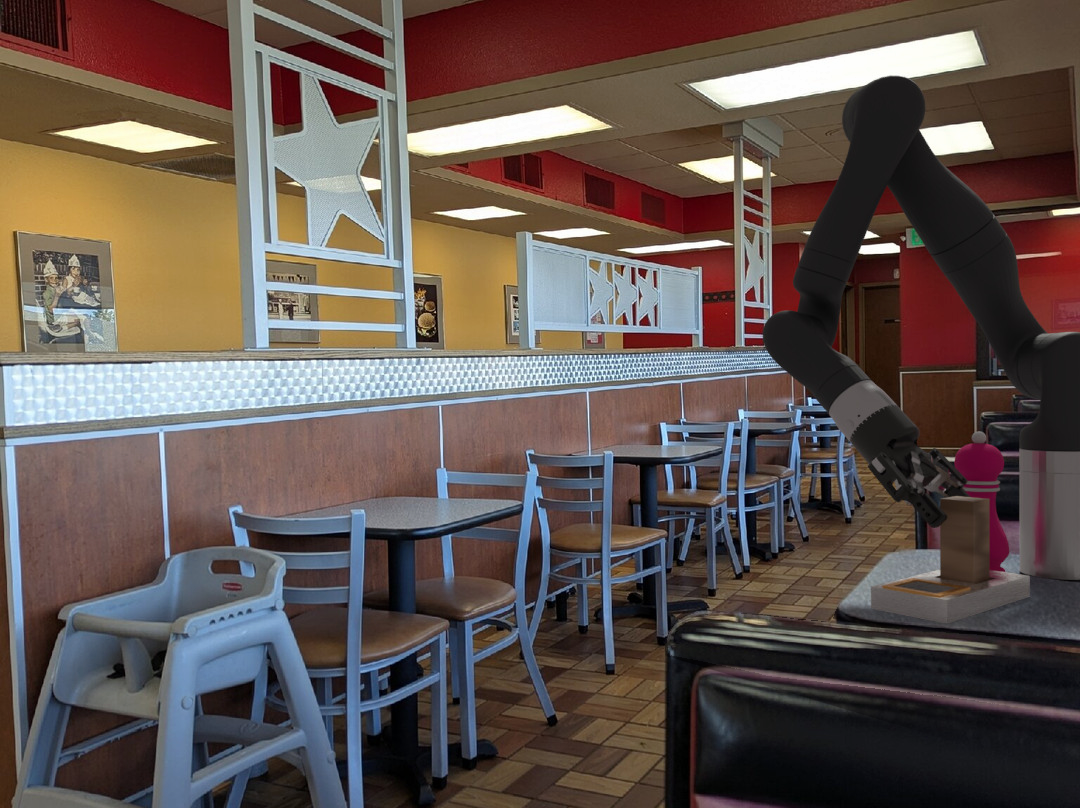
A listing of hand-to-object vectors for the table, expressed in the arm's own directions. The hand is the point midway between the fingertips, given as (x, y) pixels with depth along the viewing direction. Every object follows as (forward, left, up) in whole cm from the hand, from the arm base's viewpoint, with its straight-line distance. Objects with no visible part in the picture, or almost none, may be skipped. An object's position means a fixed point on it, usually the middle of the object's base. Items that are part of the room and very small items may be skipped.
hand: (959, 520), depth 111 cm
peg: (0, +1, -9) cm, 9 cm away
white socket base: (+3, +1, -10) cm, 10 cm away
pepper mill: (-14, -4, -10) cm, 18 cm away
